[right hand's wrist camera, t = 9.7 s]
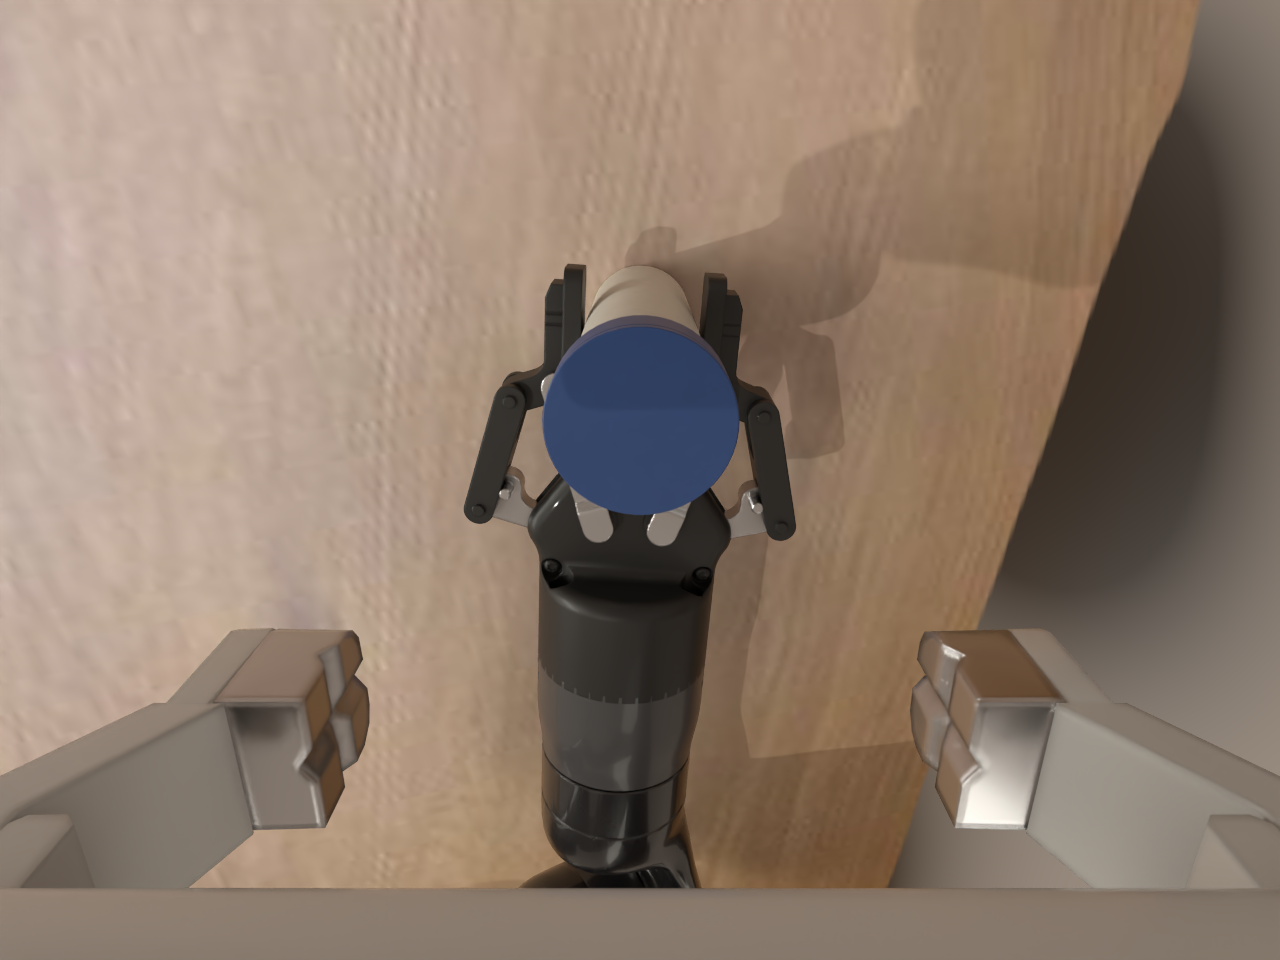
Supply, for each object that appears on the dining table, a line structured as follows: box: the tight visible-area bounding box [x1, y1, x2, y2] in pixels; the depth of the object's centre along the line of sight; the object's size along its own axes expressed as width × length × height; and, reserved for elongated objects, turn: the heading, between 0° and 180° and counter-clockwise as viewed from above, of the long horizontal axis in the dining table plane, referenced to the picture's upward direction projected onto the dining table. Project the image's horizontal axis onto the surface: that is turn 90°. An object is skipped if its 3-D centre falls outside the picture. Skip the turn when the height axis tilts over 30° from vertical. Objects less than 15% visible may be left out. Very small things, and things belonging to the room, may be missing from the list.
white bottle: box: [581, 266, 700, 336], centre depth 29 cm, size 4×4×17 cm
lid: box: [542, 315, 739, 515], centre depth 21 cm, size 5×5×2 cm
